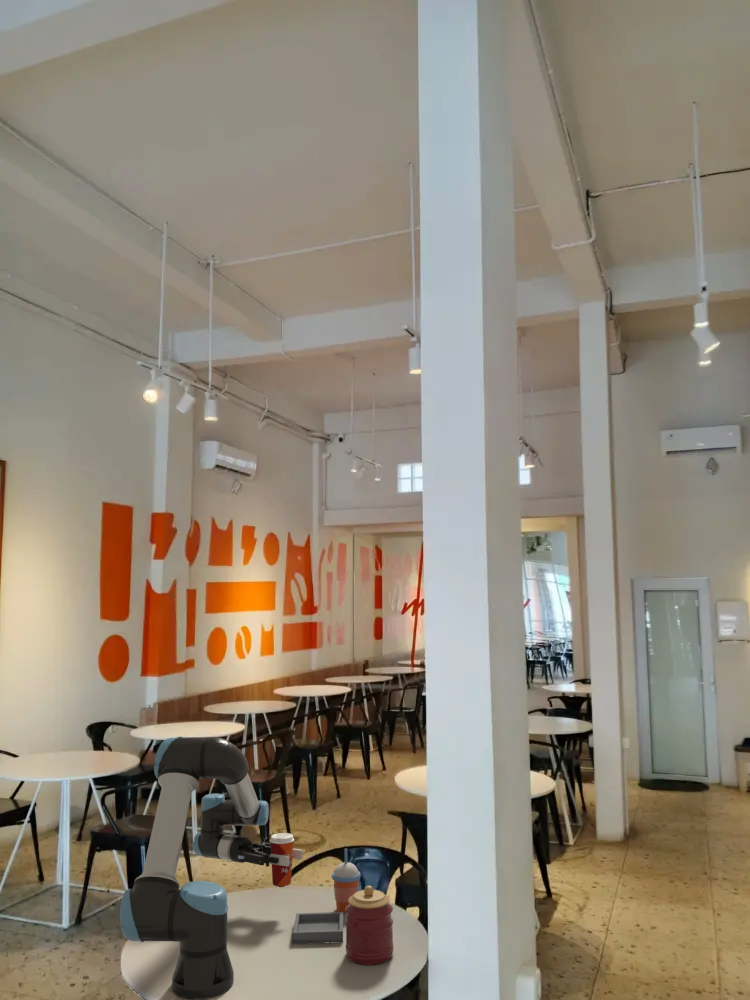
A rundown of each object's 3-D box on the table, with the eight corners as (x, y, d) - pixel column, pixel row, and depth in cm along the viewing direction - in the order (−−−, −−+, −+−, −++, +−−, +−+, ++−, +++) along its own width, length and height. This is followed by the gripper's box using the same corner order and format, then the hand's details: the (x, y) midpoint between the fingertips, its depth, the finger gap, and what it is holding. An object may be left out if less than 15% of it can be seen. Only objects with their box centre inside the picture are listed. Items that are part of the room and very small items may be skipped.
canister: (355, 969, 200) (354, 897, 202) (339, 949, 212) (338, 881, 214) (401, 960, 205) (400, 890, 207) (382, 941, 217) (381, 875, 219)
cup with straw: (366, 907, 241) (365, 847, 244) (350, 917, 234) (349, 855, 236) (342, 902, 246) (342, 842, 249) (326, 911, 239) (325, 850, 241)
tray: (293, 944, 216) (292, 932, 216) (296, 924, 230) (296, 913, 230) (343, 942, 216) (342, 931, 217) (343, 922, 230) (343, 911, 230)
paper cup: (289, 888, 234) (290, 839, 236) (265, 886, 236) (266, 838, 238) (297, 879, 242) (297, 832, 244) (274, 878, 243) (274, 831, 245)
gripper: (253, 852, 256) (312, 861, 245) (215, 870, 239) (276, 880, 228) (254, 828, 257) (312, 837, 247) (216, 844, 240) (276, 853, 229)
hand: (295, 858), depth 237 cm, fingers closed on paper cup, 7 cm apart
